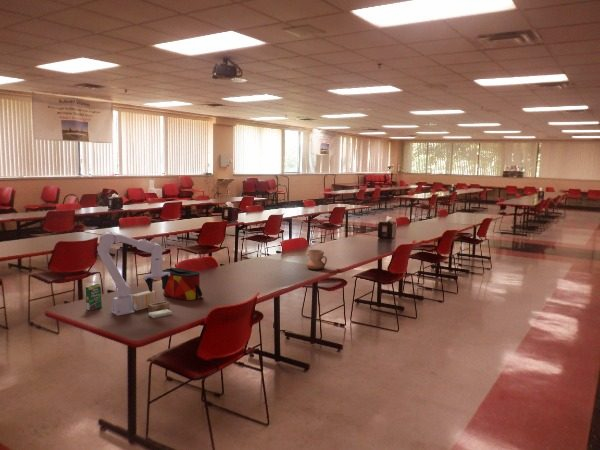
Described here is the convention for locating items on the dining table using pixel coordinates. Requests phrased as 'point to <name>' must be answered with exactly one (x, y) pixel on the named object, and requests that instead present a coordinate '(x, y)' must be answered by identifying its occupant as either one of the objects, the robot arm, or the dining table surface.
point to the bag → (183, 284)
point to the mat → (161, 316)
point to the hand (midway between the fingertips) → (157, 290)
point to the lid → (160, 313)
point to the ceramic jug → (316, 259)
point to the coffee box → (93, 297)
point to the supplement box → (143, 300)
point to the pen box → (158, 306)
